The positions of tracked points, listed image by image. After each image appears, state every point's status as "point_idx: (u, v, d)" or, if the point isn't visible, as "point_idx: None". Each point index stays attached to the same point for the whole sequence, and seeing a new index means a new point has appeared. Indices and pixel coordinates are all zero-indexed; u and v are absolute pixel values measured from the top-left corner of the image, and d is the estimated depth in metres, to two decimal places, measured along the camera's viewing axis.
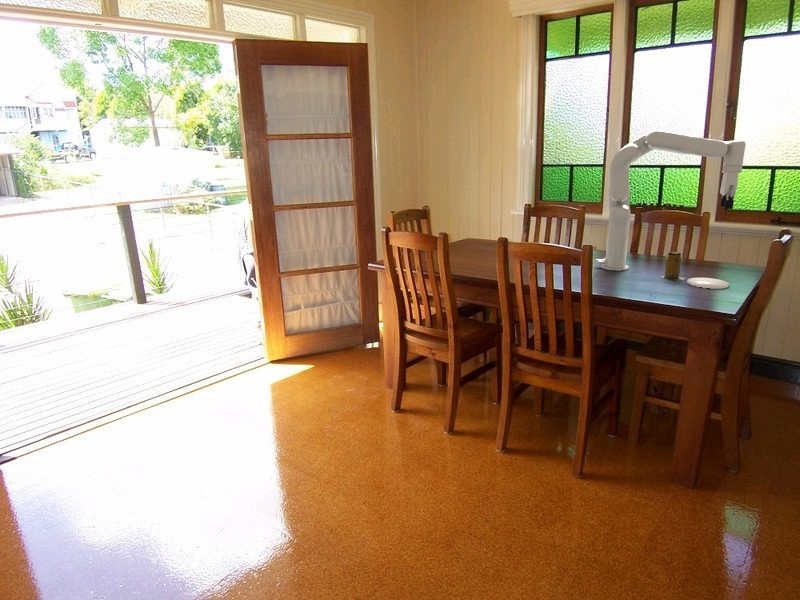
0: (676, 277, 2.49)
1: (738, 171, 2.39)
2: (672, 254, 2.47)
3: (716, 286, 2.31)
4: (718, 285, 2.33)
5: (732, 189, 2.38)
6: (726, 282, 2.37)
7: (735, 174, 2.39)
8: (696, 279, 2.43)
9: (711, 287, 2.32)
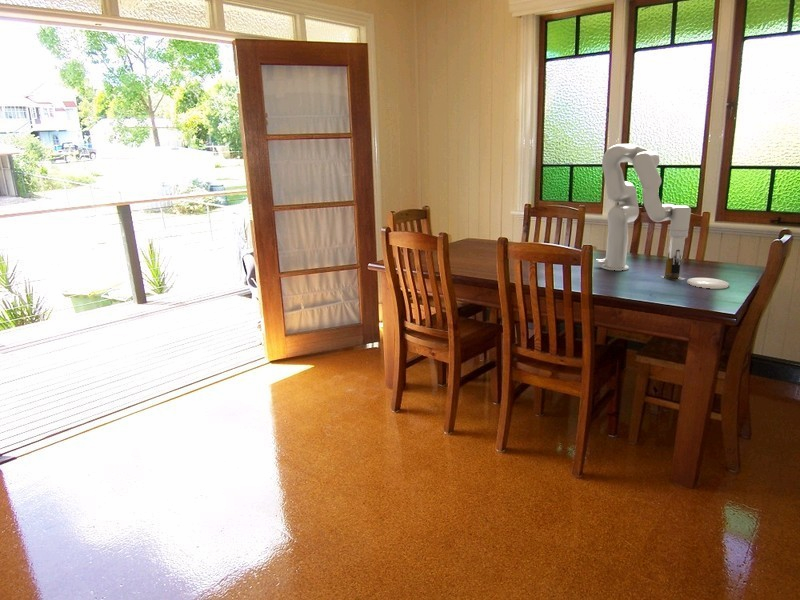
0: (676, 277, 2.49)
1: (684, 236, 2.41)
2: None
3: (716, 286, 2.31)
4: (718, 285, 2.33)
5: (677, 255, 2.41)
6: (726, 282, 2.37)
7: (680, 239, 2.41)
8: (696, 279, 2.43)
9: (711, 287, 2.32)
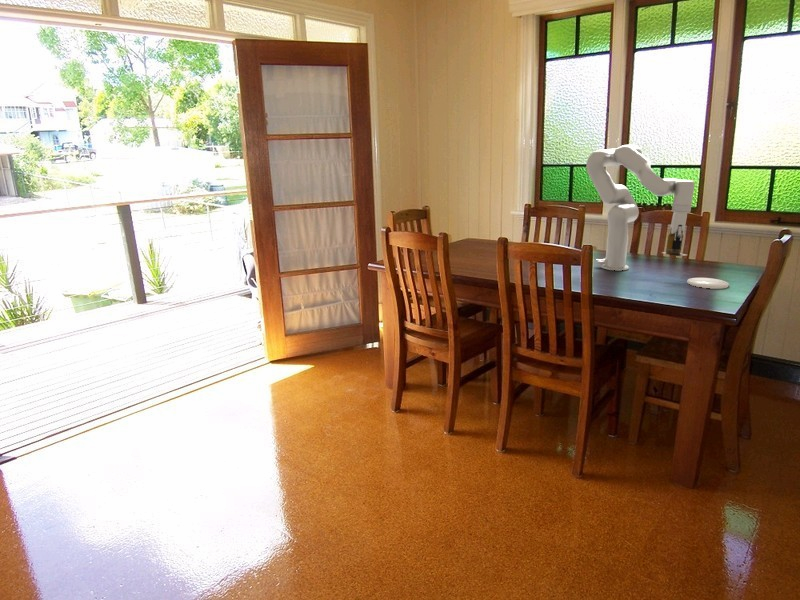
0: (677, 253, 2.45)
1: (687, 211, 2.38)
2: None
3: (716, 286, 2.31)
4: (718, 285, 2.33)
5: (679, 231, 2.38)
6: (726, 282, 2.37)
7: (683, 214, 2.38)
8: (696, 279, 2.43)
9: (711, 287, 2.32)
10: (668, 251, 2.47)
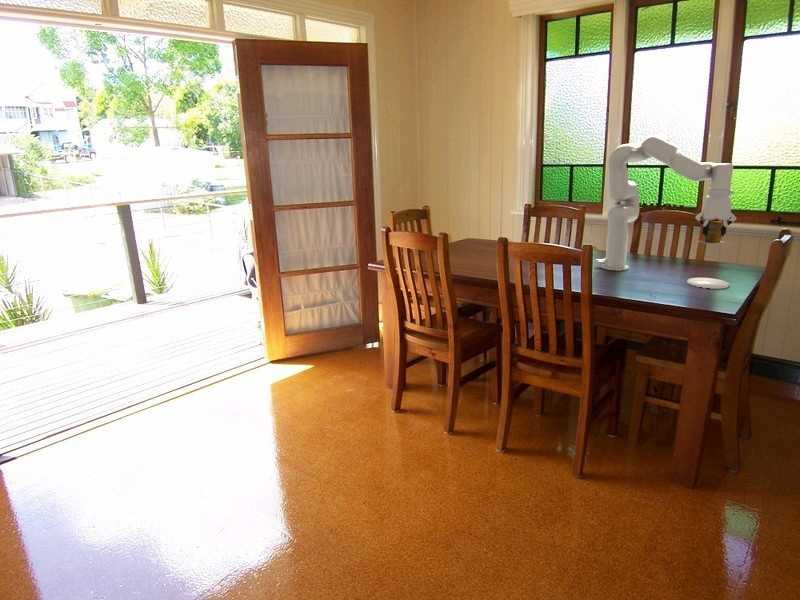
0: (707, 240, 2.33)
1: (711, 195, 2.28)
2: None
3: (716, 286, 2.31)
4: (718, 285, 2.33)
5: (697, 215, 2.33)
6: (726, 282, 2.37)
7: (707, 198, 2.30)
8: (696, 279, 2.43)
9: (711, 287, 2.32)
10: None
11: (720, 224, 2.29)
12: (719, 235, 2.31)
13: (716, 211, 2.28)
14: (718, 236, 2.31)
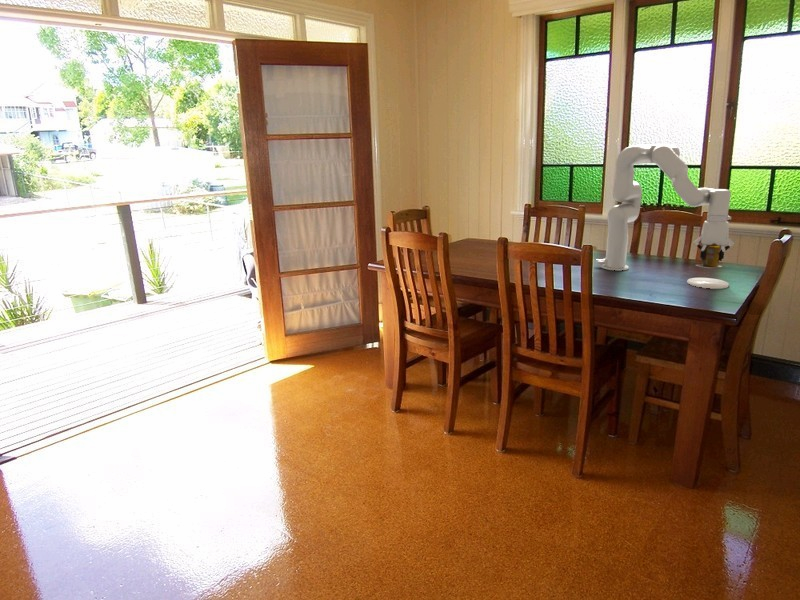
0: (705, 264, 2.36)
1: (709, 220, 2.30)
2: None
3: (716, 286, 2.31)
4: (718, 285, 2.33)
5: (696, 239, 2.36)
6: (726, 282, 2.37)
7: (704, 223, 2.32)
8: (696, 279, 2.43)
9: (711, 287, 2.32)
10: None
11: (718, 249, 2.32)
12: (717, 260, 2.34)
13: (714, 236, 2.31)
14: (716, 261, 2.33)
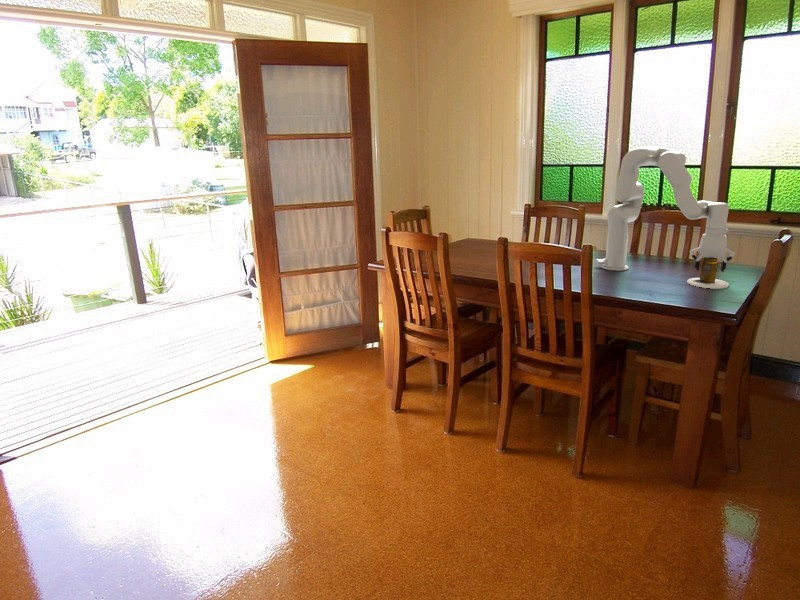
0: (702, 280, 2.38)
1: (707, 233, 2.32)
2: None
3: (716, 286, 2.31)
4: (718, 285, 2.33)
5: None
6: (726, 282, 2.37)
7: (703, 236, 2.34)
8: (696, 279, 2.43)
9: (711, 287, 2.32)
10: None
11: (715, 265, 2.34)
12: (714, 276, 2.36)
13: (712, 249, 2.33)
14: (713, 277, 2.36)
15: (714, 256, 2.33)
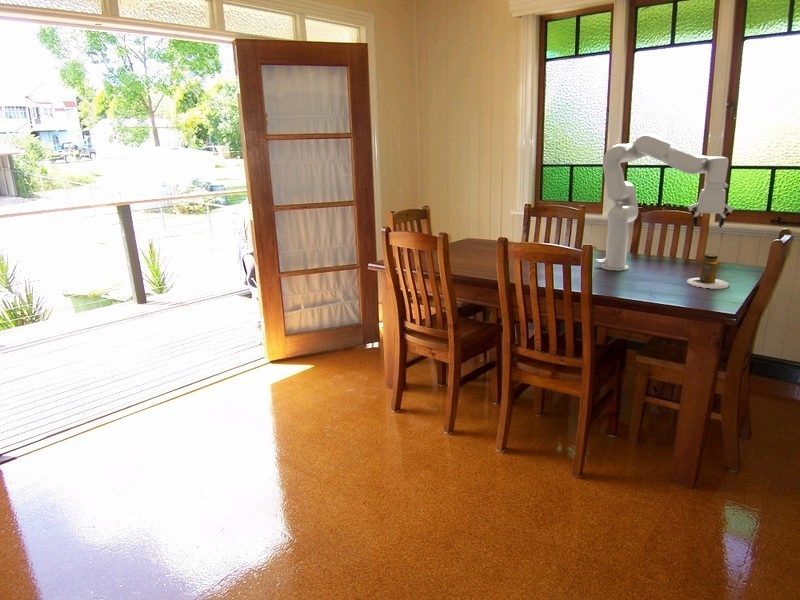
0: (702, 280, 2.38)
1: (706, 188, 2.31)
2: None
3: (716, 286, 2.31)
4: (718, 285, 2.33)
5: (691, 205, 2.36)
6: (726, 282, 2.37)
7: (701, 191, 2.33)
8: (696, 279, 2.43)
9: (711, 287, 2.32)
10: None
11: (715, 265, 2.34)
12: (714, 276, 2.36)
13: (710, 204, 2.32)
14: (713, 277, 2.36)
15: (712, 211, 2.32)
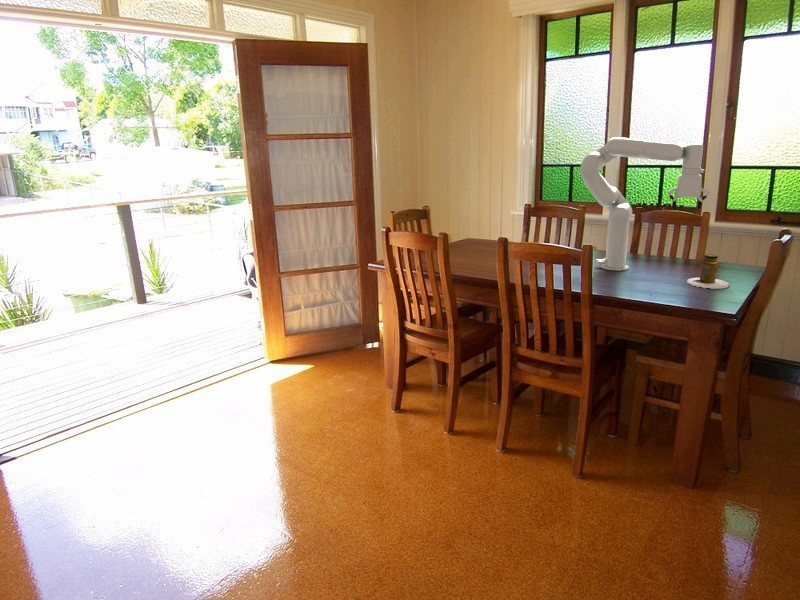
0: (702, 280, 2.38)
1: (683, 174, 2.44)
2: None
3: (716, 286, 2.31)
4: (718, 285, 2.33)
5: (670, 190, 2.50)
6: (726, 282, 2.37)
7: (679, 176, 2.47)
8: (696, 279, 2.43)
9: (711, 287, 2.32)
10: None
11: (715, 265, 2.34)
12: (714, 276, 2.36)
13: (687, 189, 2.45)
14: (713, 277, 2.36)
15: (690, 195, 2.46)
